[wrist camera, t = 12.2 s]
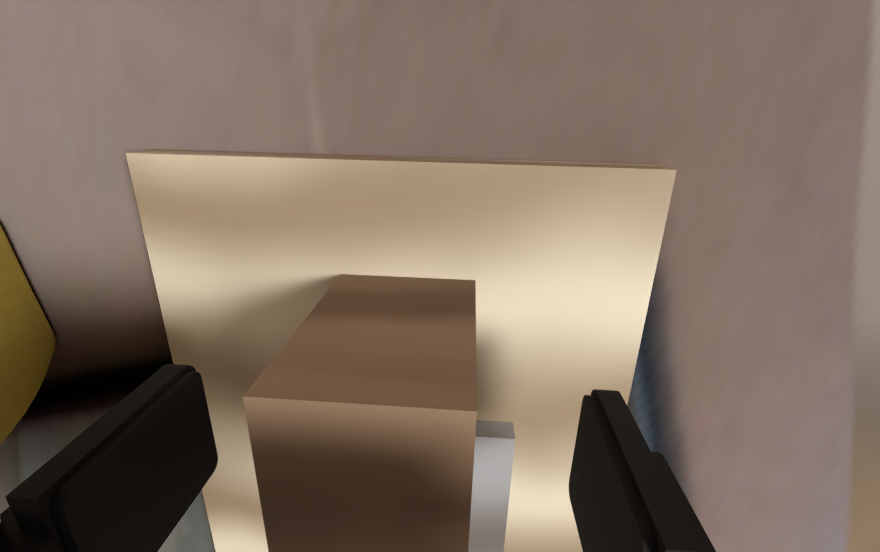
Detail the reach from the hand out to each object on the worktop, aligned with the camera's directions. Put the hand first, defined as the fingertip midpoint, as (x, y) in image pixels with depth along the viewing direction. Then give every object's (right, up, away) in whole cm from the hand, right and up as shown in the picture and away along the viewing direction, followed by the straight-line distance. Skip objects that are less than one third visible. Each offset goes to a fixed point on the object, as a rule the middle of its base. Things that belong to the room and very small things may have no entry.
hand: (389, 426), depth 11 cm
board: (0, -6, +7) cm, 9 cm away
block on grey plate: (0, -2, +4) cm, 5 cm away
